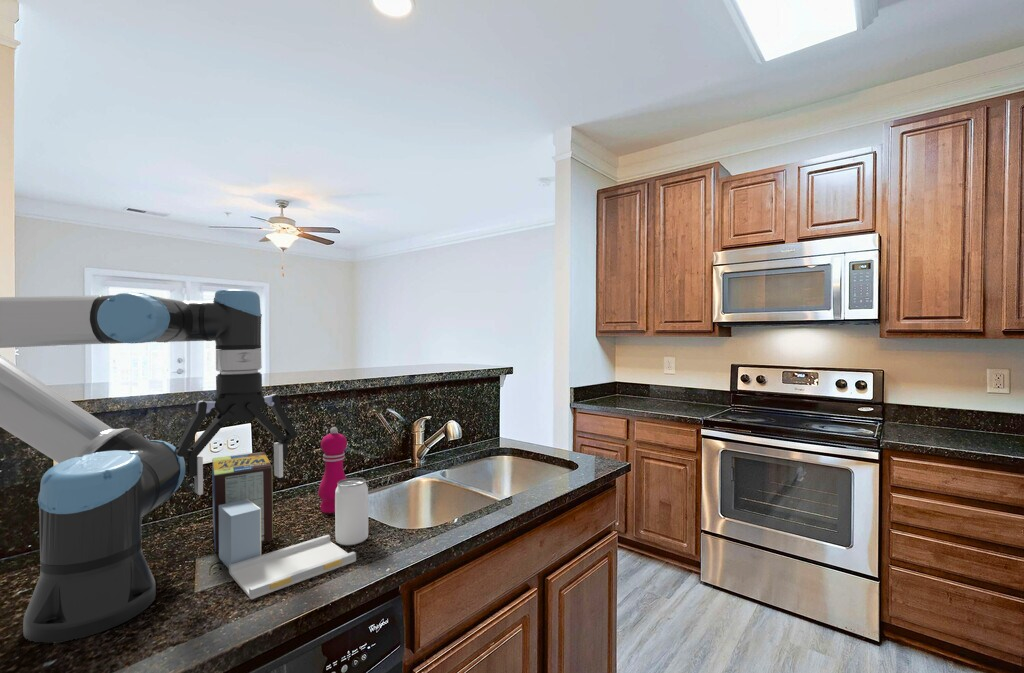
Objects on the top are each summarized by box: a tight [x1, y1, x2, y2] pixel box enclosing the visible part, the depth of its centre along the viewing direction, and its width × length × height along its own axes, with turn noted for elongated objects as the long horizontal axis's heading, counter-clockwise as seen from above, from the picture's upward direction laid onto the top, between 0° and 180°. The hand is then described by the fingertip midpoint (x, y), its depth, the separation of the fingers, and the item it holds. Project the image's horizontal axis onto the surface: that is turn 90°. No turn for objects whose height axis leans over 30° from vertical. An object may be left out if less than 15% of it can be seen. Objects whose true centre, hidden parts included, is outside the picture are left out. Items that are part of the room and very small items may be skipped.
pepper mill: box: [317, 426, 348, 514], centre depth 116 cm, size 7×7×20 cm
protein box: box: [211, 451, 274, 553], centre depth 102 cm, size 10×15×16 cm
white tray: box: [228, 534, 357, 600], centre depth 87 cm, size 18×12×2 cm
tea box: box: [218, 499, 262, 569], centre depth 90 cm, size 8×5×10 cm, turn 45°
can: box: [334, 477, 369, 547], centre depth 98 cm, size 6×6×12 cm
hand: (240, 484), depth 90 cm, fingers open, 13 cm apart
